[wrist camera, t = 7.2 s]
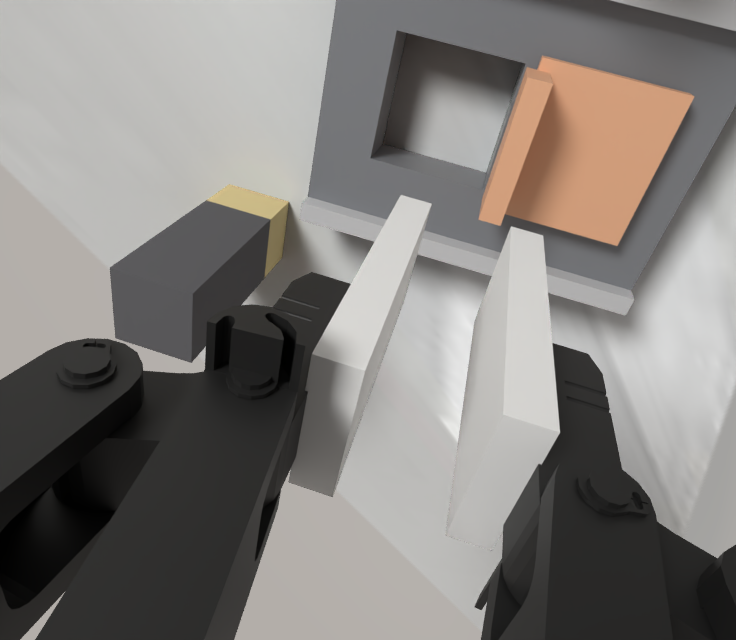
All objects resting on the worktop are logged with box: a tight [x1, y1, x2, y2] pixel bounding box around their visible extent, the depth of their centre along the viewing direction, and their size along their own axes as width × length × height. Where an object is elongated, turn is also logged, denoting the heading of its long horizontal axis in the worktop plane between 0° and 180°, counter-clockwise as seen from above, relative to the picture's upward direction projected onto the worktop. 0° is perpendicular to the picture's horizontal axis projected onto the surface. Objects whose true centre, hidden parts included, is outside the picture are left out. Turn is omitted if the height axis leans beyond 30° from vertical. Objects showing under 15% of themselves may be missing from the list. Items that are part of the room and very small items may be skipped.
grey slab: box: [299, 0, 736, 316], centre depth 27 cm, size 14×18×4 cm
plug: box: [110, 184, 289, 363], centre depth 30 cm, size 4×4×12 cm
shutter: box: [479, 55, 695, 246], centre depth 24 cm, size 7×7×4 cm
